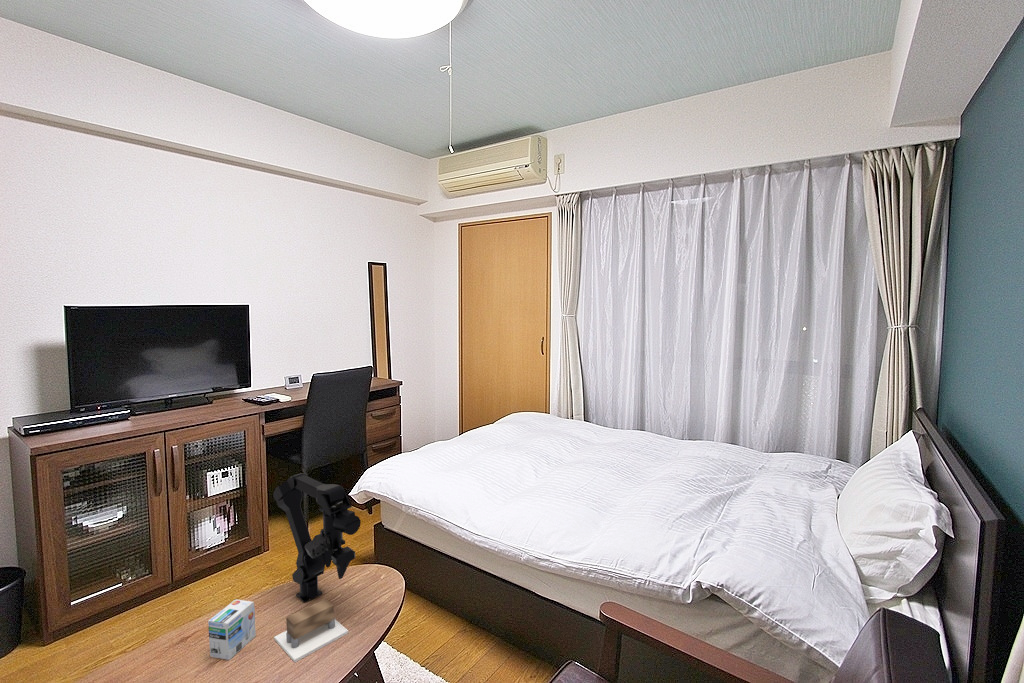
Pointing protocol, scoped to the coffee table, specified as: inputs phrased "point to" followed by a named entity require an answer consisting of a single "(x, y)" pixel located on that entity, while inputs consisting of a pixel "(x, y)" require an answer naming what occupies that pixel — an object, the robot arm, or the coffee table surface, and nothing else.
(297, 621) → the walnut board
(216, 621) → the light bulb box
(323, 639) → the peg stand
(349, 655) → the coffee table surface
